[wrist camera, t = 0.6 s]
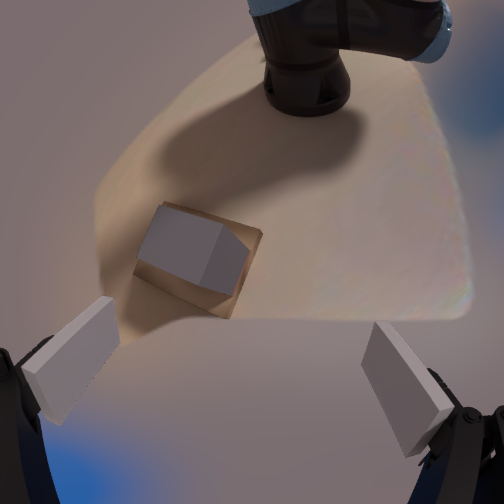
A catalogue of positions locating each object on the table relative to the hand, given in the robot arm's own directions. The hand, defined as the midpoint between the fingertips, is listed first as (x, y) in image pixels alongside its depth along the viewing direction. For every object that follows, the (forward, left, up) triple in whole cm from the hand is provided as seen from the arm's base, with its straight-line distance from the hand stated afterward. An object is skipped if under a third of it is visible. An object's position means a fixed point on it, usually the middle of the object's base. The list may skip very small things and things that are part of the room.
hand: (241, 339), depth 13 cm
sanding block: (-4, -12, -19) cm, 23 cm away
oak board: (-4, -16, -21) cm, 27 cm away
